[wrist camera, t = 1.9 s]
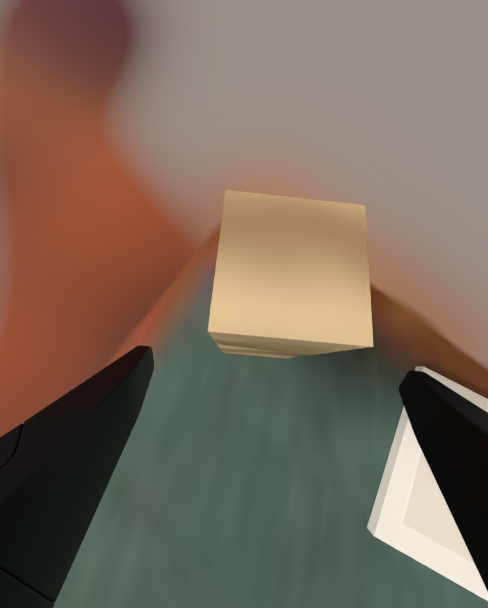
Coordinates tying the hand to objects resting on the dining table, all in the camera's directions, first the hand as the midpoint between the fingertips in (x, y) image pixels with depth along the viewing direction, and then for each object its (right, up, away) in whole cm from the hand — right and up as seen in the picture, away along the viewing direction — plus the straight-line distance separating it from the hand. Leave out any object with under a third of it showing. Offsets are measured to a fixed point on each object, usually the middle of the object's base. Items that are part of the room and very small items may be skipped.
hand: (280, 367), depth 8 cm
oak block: (0, 0, +11) cm, 11 cm away
